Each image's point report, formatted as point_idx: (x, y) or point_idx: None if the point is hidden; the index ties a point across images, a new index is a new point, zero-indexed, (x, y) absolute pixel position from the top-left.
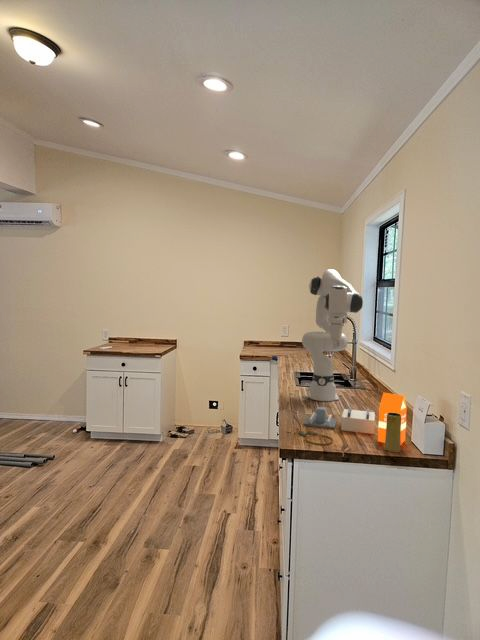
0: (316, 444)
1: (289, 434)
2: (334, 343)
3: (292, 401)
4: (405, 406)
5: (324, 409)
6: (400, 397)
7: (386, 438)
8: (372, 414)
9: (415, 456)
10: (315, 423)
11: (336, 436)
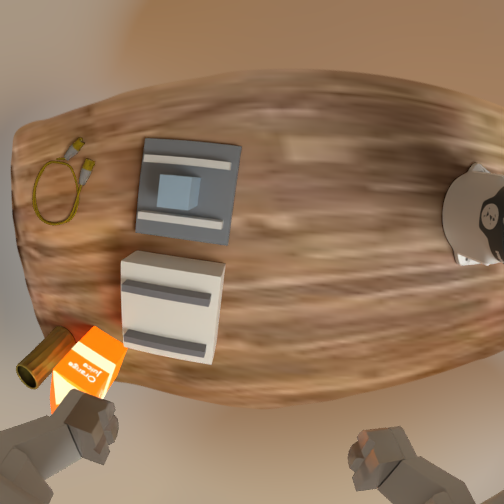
0: (34, 189)
1: (75, 117)
2: (31, 435)
3: (422, 108)
4: None
5: (161, 204)
6: None
7: (46, 338)
8: (182, 354)
9: None
10: (153, 174)
11: (87, 234)
